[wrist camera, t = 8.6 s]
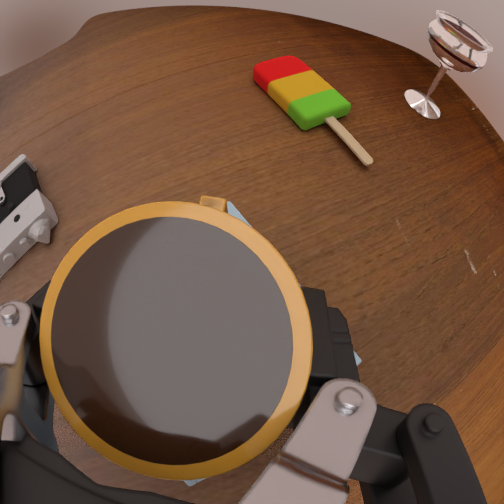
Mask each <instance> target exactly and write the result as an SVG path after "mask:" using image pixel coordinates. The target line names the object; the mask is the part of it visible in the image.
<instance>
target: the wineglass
mask: <svg viewBox="0 0 504 504" xmlns="http://www.w3.org/2000/svg"><path fill="white" fill-rule="evenodd" d="M436 12H437V19H436V20H433V21H432V22H431V23H430V25H429V28H428V40H429V42H430V45H431V47H432V50H433V52H434V53H435V54H436V55H437V57H438V58H439V59H440V63H441V67H440V69H439V71H438V73H437V75H436V77H435V79H434V81H433V83H432V85H431V87H430V89H429V91H428V93H427V94H426V95H425V94H424V93H422V92H420V91H417V90H412V89H411V90H407V91H406V92H405V98H406V100H407V102H408V103H409V105H410V106H411V107H412V108H413V109H414V110H416V111H417V112H418V113H420V114H421V115H423V116H425V117H427V118H430V119H437V118H439V117H440V110H439V108H438V106H437V105H436V103H435V102H434V101H433V100H432V99H431V98H430V97H429V96H430V95H431V93H432V92H433V91H434V89H435V88H436V86H437V85H438V83H439V82H440V80H441V79H442V77H443V76H444V74H445V73H446V71H447V70H452V69H455V70H457V71H460V72H476V71H477V70H479V69H481V68H482V67H483V66H484V64H485V63H486V60H487V53H488V52H491V51H493V49H492V46H491V45H490V44H489V43H488V41H487V40H486V39H485V38H484V37H483V36H482V35H481V34H480V33H478V32H477V31H476V30H475V29H473V28H472V27H471V26H469V25H468V24H467V23H465V22H463V21H462V20H460V19H459V18H457V17H455V16H453V15H451V14H449V13H446V12H444V11H440V10H438V11H436Z"/></svg>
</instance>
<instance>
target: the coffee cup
mask: <svg viewBox="0 0 504 504" xmlns="http://www.w3.org/2000/svg"><path fill="white" fill-rule="evenodd" d="M39 340H40V355H41V360H42V366H43V371H44V374H45V378H46V381H47V384H48V387H49V389H50V392H51V394H52V396H53V398H54V401H55V403H56V405H57V406H58V408H59V410H60V411H61V413H62V415H63V416H64V418H65V419H66V421H67V422H68V423H69V425H70V426H71V427H72V428H73V430H74V431H75V432H76V433H77V434H78V435H79V436H80V437H81V438H82V439H83V440H84V441H85V442H86V443H87V444H88V445H89V446H90V447H91V448H93V449H94V450H95V451H97V452H98V453H99V454H100V455H102V456H103V457H105V458H106V459H108V460H110V461H111V462H113V463H115V464H117V465H118V466H121V467H123V468H125V469H128V470H130V471H132V472H135V473H138V474H141V475H145V476H149V477H152V478H158V479H166V480H196V479H203V478H209V477H213V476H217V475H220V474H223V473H226V472H229V471H232V470H234V469H236V468H238V467H240V466H242V465H244V464H246V463H248V462H249V461H251V460H252V459H254V458H255V457H257V456H258V455H260V454H261V453H263V452H264V451H265V450H266V449H267V448H268V447H269V446H270V445H271V444H273V443H274V442H275V441H276V440H277V439H278V437H279V436H280V435H281V434H282V433H283V431H284V430H285V429H286V428H287V426H288V425H289V424H290V422H291V420H292V419H293V417H294V415H295V413H296V412H297V410H298V408H299V406H300V404H301V401H302V399H303V396H304V394H305V391H306V389H307V385H308V381H309V377H310V373H311V367H312V357H313V335H312V325H311V320H310V315H309V310H308V307H307V303H306V300H305V297H304V294H303V291H302V289H301V287H300V285H299V283H298V281H297V279H296V277H295V275H294V273H293V271H292V270H291V268H290V267H289V265H288V264H287V262H286V261H285V259H284V258H283V257H282V255H281V254H280V253H279V252H278V251H277V250H276V249H275V247H274V246H273V245H272V244H271V243H270V242H269V241H268V240H267V239H266V238H264V237H263V236H262V235H261V234H260V233H259V232H258V231H256V230H255V229H254V228H252V227H251V226H249V225H248V224H246V223H245V222H243V221H242V220H240V219H238V218H236V217H234V216H232V215H230V214H228V208H227V200H226V199H224V198H217V197H211V196H204V195H203V196H202V197H201V199H200V202H199V204H196V203H190V202H178V201H168V202H154V203H149V204H143V205H139V206H136V207H132V208H129V209H126V210H124V211H121V212H119V213H117V214H115V215H112V216H110V217H109V218H107V219H105V220H104V221H102V222H100V223H99V224H97V225H96V226H95V227H93V228H92V229H91V230H90V231H88V232H87V233H86V234H85V235H83V236H82V237H81V238H80V239H79V240H78V241H77V243H76V244H75V245H74V246H73V247H72V248H71V249H70V251H69V252H68V253H67V254H66V256H65V257H64V258H63V260H62V261H61V263H60V265H59V266H58V268H57V270H56V272H55V273H54V276H53V278H52V280H51V282H50V285H49V287H48V290H47V293H46V296H45V300H44V303H43V308H42V313H41V319H40V334H39Z"/></svg>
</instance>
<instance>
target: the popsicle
mask: <svg viewBox="0 0 504 504" xmlns="http://www.w3.org/2000/svg"><path fill="white" fill-rule="evenodd" d="M253 78H254V80H255V82H256V83H257V84H258V85H259V86H260V87H261V88H262V89H263V90H264V91H265V92H266V93H267V94H268V95H269V96H270V97H271V98H272V99H273V100H274V101H275V102H276V103H277V104H278V105H279V106H280V107H281V108H282V109H283V110H284V111H285V112H286V113H287V114H288V115H289V116H290V117H291V118H292V120H293V121H294V122H295V123H296V124H297V125H298V126H299V127H300V128H301V129H302V130H308V129H311V128H313V127H316V126H318V125H321V124H323V123H327V124H328V125H329V126H330V127H331V128H332V129H333V130H334V131H335V132H336V134H337V135H338V136H339V137H340V138H341V139H342V140H343V141H344V142H345V143H346V145H347V146H348V147H349V148H350V149H351V150H352V151H353V152H354V154H355V155H356V156H357V157H358V158H359V159H360V161H361V162H362V163H363V164H364V165H365V166H369V165H371V164H372V163H373V159H372V158H371V157H370V155H369V154H368V153H367V152H366V151H365V150H364V149H363V147H362V146H361V145H360V144H359V143H358V142H357V141H356V140H355V139H354V137H353V136H352V135H351V134H350V133H349V132H348V131H347V130H346V129H345V128H344V127H343V126H342V125H341V124H340V123H339V122H338V121H337V120H336V119H337V118H339V117H342V116H345V115H347V114H348V113H349V112H350V109H351V104H350V103H349V102H348V101H347V100H346V99H345V98H344V97H343V96H341V95H340V94H339V93H338V92H337V91H336V90H335V89H334V88H333V87H332V86H330V85H329V84H328V83H327V82H326V81H325V80H324V79H323V78H321V77H320V76H319V75H318V74H317V73H315V72H314V71H313V70H312V69H311V68H309V67H308V66H307V65H306V64H305V63H303V62H302V61H301V60H299V59H298V58H296V57H294V56H283V57H279V58H275V59H271V60H267V61H264V62H260V63H258V64H256V65H255V67H254V69H253Z"/></svg>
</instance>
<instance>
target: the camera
mask: <svg viewBox="0 0 504 504" xmlns="http://www.w3.org/2000/svg"><path fill="white" fill-rule="evenodd" d="M36 171H37V168H36V167H35V166H34V165H33V164H32V163H31V162H30V160H29V159H28V158H27V157H26V156H25V155H24V154H22V155H20V156H19V157H18V158H16V159H15V160H14V161H13V162H12V163H11V164H10V165H9V166H8V167H7V168H6V169H5V170H4V171H3V172H2V173H1V174H0V278H1V277H2V276H3V275H4V274H5V273H6V272H7V271H8V270H9V269H10V268H11V267H12V266H13V265H14V264H15V263H16V262H17V261H18V260H19V259H20V258H21V257H22V256H23V255H24V254H25V253H26V252H27V251H28V250H29V249H30V248H31V247H32V246H33V245H34V244H35V243H36V242H37V241H38V242H41V243H45V244H48V243H49V242H50V231H51V229H52V228H53V227H54V226H55V225H56V224H57V223H58V218H57V215H56V213H55V210H54V208H53V206H52V203H51V202H50V201H49V200H48V199H47V198H46V197H45V196H44V195H43V194H42V192H41V190H40V187H39V184H38V181H37V178H36V175H35V172H36Z"/></svg>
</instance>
